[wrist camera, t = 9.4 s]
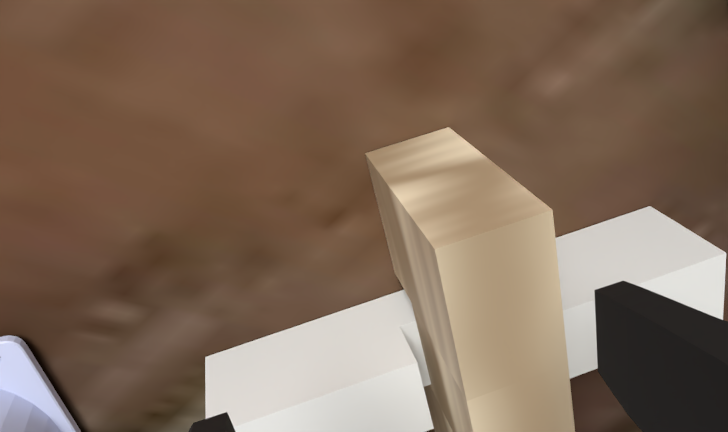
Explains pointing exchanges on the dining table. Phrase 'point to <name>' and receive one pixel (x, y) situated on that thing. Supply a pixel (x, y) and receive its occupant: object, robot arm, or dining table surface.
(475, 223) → the light wood plank
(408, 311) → the white building blocks
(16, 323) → the dining table surface
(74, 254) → the dining table surface
